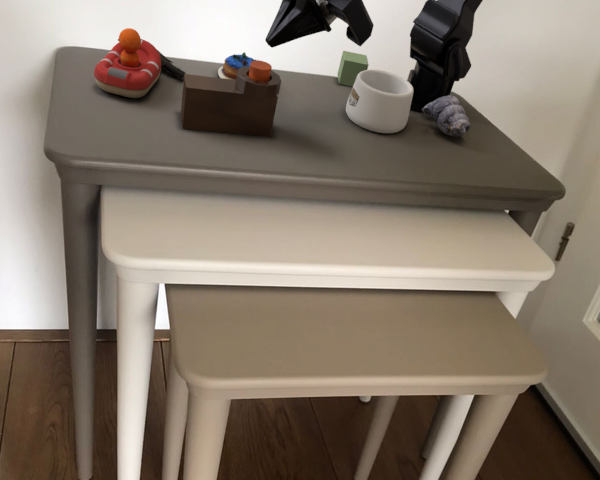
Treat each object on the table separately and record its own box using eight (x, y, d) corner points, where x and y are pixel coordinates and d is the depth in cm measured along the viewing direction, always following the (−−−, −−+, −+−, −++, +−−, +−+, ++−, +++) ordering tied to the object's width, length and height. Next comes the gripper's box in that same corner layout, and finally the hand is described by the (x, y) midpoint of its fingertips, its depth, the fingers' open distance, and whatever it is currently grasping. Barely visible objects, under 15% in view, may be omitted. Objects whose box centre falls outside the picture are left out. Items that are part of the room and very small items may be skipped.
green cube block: (360, 78, 113) (366, 55, 110) (362, 88, 110) (368, 64, 107) (337, 74, 112) (343, 50, 110) (338, 83, 110) (344, 59, 107)
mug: (414, 137, 101) (427, 99, 97) (355, 133, 97) (366, 94, 93) (387, 100, 109) (398, 64, 105) (332, 95, 106) (341, 58, 101)
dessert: (220, 83, 99) (225, 42, 98) (213, 92, 105) (216, 53, 104) (272, 94, 101) (277, 53, 101) (261, 101, 107) (266, 63, 107)
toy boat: (165, 75, 99) (170, 22, 94) (143, 106, 91) (146, 51, 86) (115, 61, 99) (117, 8, 94) (87, 92, 90) (88, 35, 85)
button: (267, 74, 89) (270, 61, 88) (271, 83, 87) (273, 70, 86) (247, 72, 88) (249, 59, 87) (249, 81, 86) (251, 68, 85)
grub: (423, 119, 109) (454, 154, 103) (415, 95, 104) (446, 130, 98) (452, 101, 108) (484, 134, 102) (444, 76, 104) (478, 109, 98)
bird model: (110, 28, 99) (107, 46, 101) (182, 72, 97) (178, 89, 98) (124, 26, 101) (121, 43, 103) (195, 69, 99) (190, 85, 101)
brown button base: (267, 120, 95) (277, 68, 90) (274, 140, 91) (284, 87, 86) (180, 111, 92) (184, 57, 87) (182, 131, 88) (187, 76, 83)
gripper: (286, -128, 81) (197, -32, 83) (382, -78, 72) (280, 29, 73) (322, -54, 91) (242, 31, 92) (411, -2, 81) (320, 92, 83)
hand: (268, 44), depth 85 cm, fingers closed
